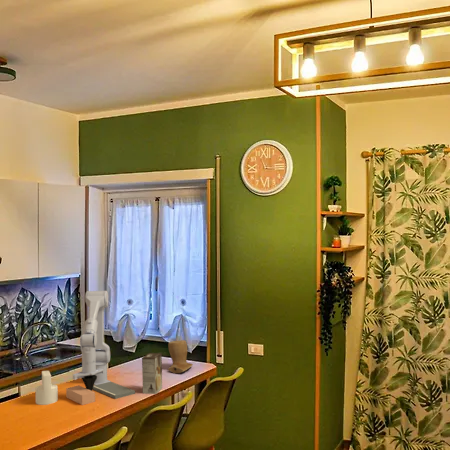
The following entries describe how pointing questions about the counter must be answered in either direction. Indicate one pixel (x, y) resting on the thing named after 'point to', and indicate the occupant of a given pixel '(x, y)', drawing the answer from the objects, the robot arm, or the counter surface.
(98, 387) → the board
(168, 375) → the counter surface
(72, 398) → the tan rectangular block
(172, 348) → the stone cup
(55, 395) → the base with upright slab
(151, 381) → the coffee box
